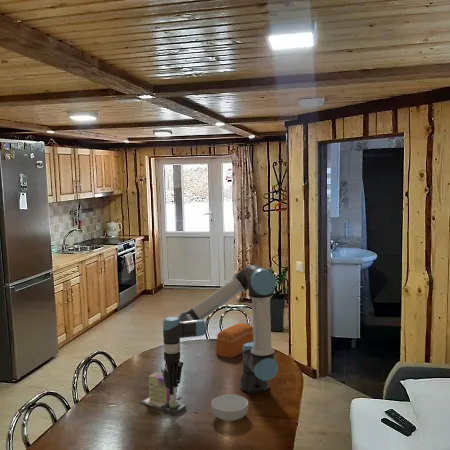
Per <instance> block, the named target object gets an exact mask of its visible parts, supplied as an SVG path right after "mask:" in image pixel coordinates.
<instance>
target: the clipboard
mask: <svg viewBox="0 0 450 450" xmlns="http://www.w3.org/2000/svg"><path fill="white" fill-rule="evenodd" d="M181 398H182V396H180V395H177V400H178V401H179V399H181ZM140 404H143V405H146V406H147V407H148V406H149V407H151V408H154V409H157V410H159V411H160V410H161V411H162V407H163V406H165V405H167V404H169V402H168V403H165V402H161V401H157V400H152V399H150V396H148V397H147V398H145V399H142V400H141V401H140Z"/></svg>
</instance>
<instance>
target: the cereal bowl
mask: <svg viewBox="0 0 450 450" xmlns="http://www.w3.org/2000/svg"><path fill="white" fill-rule="evenodd" d="M210 404H211V405H210V406H211V412H212V413H213V416H215V417H216V418H218V419H220V420H223V421H226V422H234V421H237V420H240V419H242V418H244V417H245V416H246V414H247V413H248V409H249V400H248V399H247V398H245V397H244V396H241V395H238V394H229V393H228V394H223V395H218V396H216V397H215V398H213V399H212V400H211V403H210Z"/></svg>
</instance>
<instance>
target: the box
mask: <svg viewBox="0 0 450 450" xmlns="http://www.w3.org/2000/svg"><path fill="white" fill-rule="evenodd" d="M148 388H149V389H148V391H149V392H148V393H149V394H148V395H149V396H148V397H150V399H152V400H157V401H161V402H165V403H168V402H169V401H170V394H169V388H167V387H166V386H165V381H164V377H163V373H162V372H153V373H151V374H150V375H149V376H148Z"/></svg>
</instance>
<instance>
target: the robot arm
mask: <svg viewBox="0 0 450 450" xmlns="http://www.w3.org/2000/svg"><path fill="white" fill-rule="evenodd" d="M276 283H277V281H276V277H275V275H274V274H273V272H271V271H270V270H269V269H267V268H265V267H262V266H260V265H258V264H250V265H249V266H245V267H244V268H243V269H241V270H240V271H239V272H236V273H235V274H234V275H233V276H232V279H231V280H229V281H228V282H226V283H225V284H224V285H223V286H221V287H219V288H218V289H216V291H214V292H213V293H212V294H210V295H209V296H207V297H206V298H204V299H203V300H202V301H200V302H199V303H197V304H196V305H195V306H194V307H192V308H191V309H189V310H188V311H187V310H185V311H182V312H181V313H180V314H179V316H178V317H177V316H169V317H165V318H164V319H163V321H162V324H163V325H162V333H163V335H162V337H163V359H164V361H165V364H164V367H163V368H162V369H161V372H160V373H162V374H163V377H164V381H165V386H166V387H167V388H169V394H170V400H171V401H174V402H175V401H177V393H178V388H179V386H180V385H179V384H180V383H181V379H182V370H183V366H184V362H182V361H181V339H184V338H194V337H197V338H198V337H201V336H205V334H206V329H207V328H206V322H205V320H204V319H206V318H207V317H209V316H210V315H211V314H212V313H213V312H215V311H216V310H218V309H219V308H221V307H222V306H223V305H225V304H227V302H229V301H231V300H232V299H233V298H234V297H236V296H238V294H240V293H241V292H242V293H245V292H246V291H247V290H248V297H249V298H250V300H251V308H252V327H253V341H254V342H250V343H246V344H244V345H243V350H242V351H243V353H242V374H241V378H240V381H239V388H240V389H241V391H243V392H246V393H251V394H257V393H259V394H260V393H263V392H266V391H267V390H269V388H270V382H269V381H271V380H272V379H274V378H275V377H276V376H277V374H278V371H279V363H278V361H277V360H276V355H275V354H276V352H275V349H274V347H272V330H271V329H272V325H271V321H272V320H271V299H272V297H273V296H274V292H273V291H274V290H275V288H276V285H277V284H276Z"/></svg>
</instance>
